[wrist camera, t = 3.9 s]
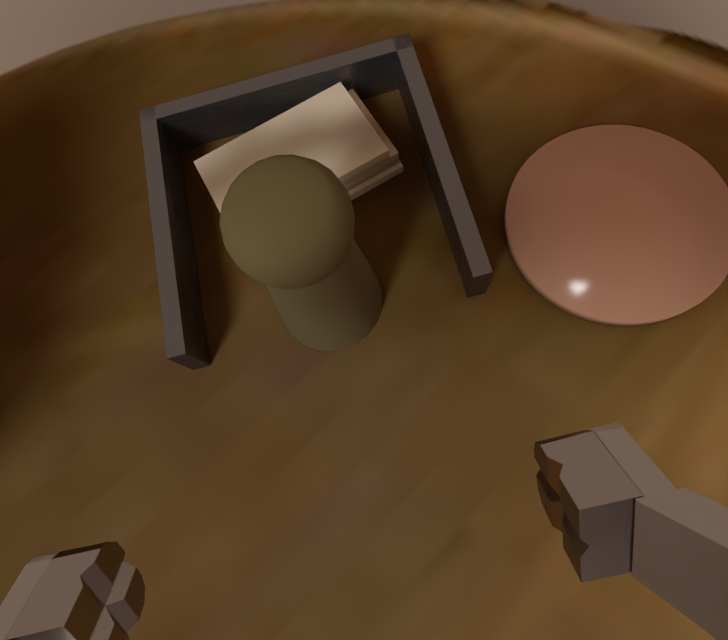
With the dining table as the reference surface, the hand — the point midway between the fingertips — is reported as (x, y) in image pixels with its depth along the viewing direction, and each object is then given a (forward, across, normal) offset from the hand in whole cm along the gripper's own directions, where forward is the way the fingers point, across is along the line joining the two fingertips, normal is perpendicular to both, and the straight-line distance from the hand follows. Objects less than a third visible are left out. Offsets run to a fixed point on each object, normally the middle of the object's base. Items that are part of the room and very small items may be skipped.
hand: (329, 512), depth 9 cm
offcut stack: (+25, +1, -2) cm, 25 cm away
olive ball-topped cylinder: (+19, +1, +4) cm, 19 cm away
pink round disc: (+19, -16, +4) cm, 25 cm away
